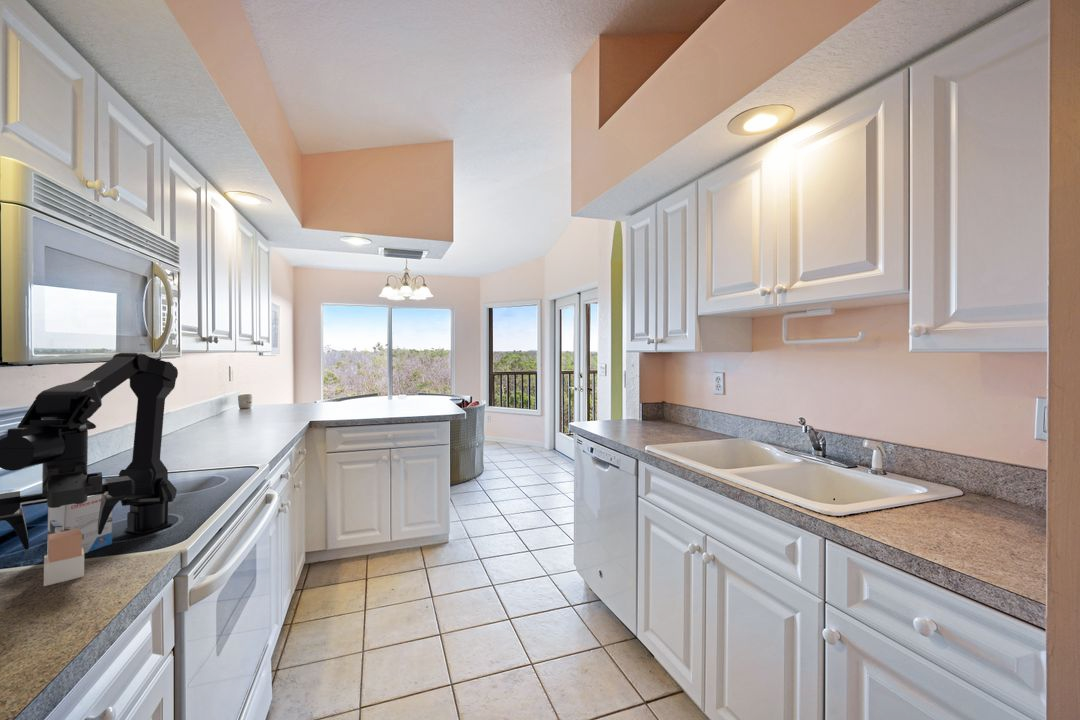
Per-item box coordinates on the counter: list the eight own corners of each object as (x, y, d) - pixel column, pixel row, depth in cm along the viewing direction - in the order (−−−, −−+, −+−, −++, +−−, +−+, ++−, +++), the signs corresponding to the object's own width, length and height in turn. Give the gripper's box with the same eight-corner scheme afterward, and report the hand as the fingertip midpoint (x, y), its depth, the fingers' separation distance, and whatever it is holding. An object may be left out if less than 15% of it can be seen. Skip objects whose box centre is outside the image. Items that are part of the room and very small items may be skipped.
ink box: (95, 541, 98) (96, 488, 98) (113, 544, 97) (114, 490, 97) (45, 559, 89) (46, 500, 89) (64, 561, 88) (65, 502, 88)
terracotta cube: (79, 549, 85) (79, 528, 85) (81, 555, 83) (81, 533, 83) (47, 556, 82) (48, 534, 82) (49, 562, 80) (49, 540, 80)
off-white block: (83, 568, 86) (83, 547, 86) (84, 577, 83) (84, 555, 83) (44, 577, 82) (44, 555, 82) (43, 586, 79) (43, 564, 79)
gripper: (-18, 474, 70) (-19, 573, 70) (140, 455, 84) (139, 538, 84) (-15, 463, 77) (-15, 552, 77) (130, 447, 92) (129, 523, 92)
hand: (64, 541), depth 83 cm, fingers open, 9 cm apart
